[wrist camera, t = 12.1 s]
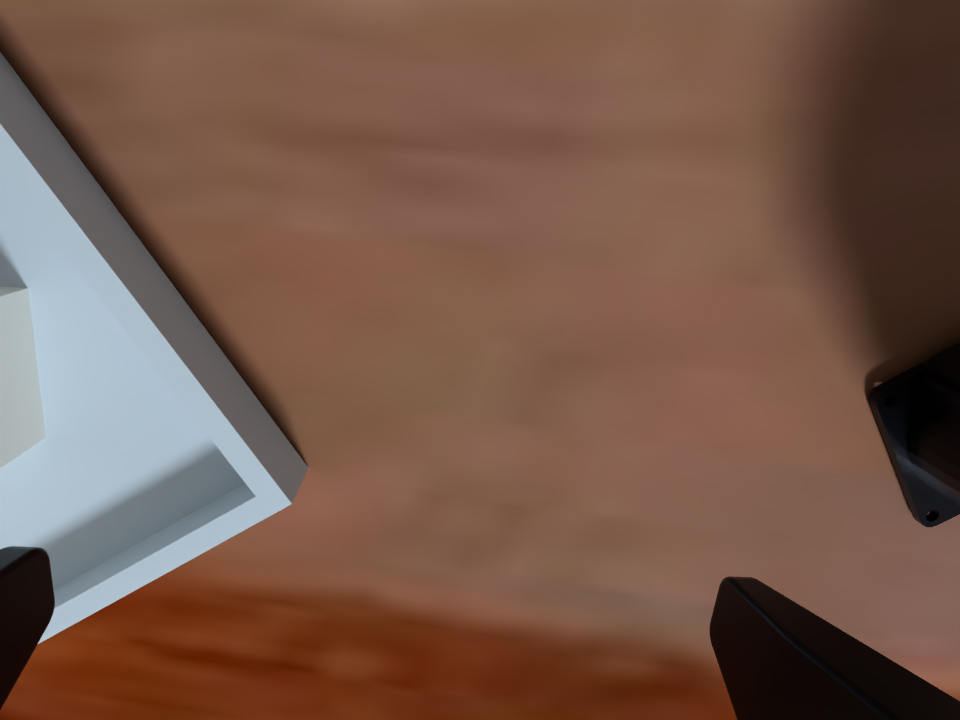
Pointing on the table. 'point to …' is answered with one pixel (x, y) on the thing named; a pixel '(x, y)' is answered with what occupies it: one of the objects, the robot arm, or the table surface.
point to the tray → (117, 390)
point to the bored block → (18, 377)
